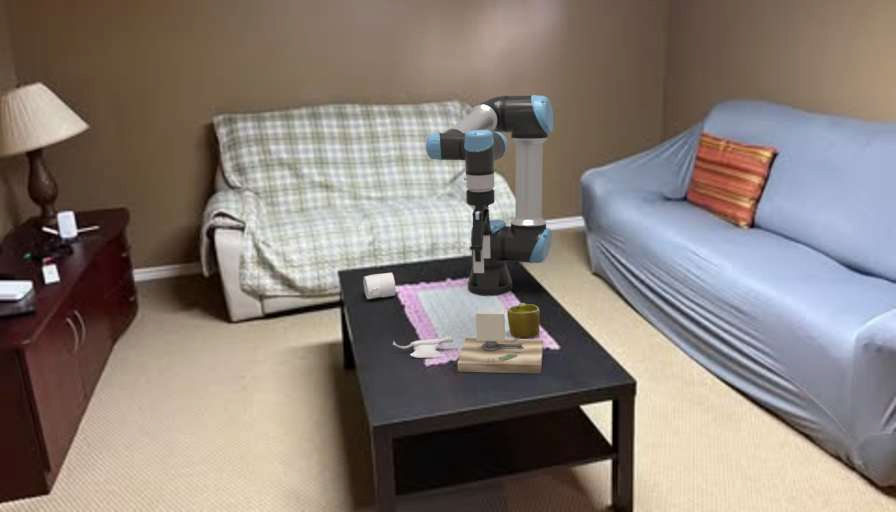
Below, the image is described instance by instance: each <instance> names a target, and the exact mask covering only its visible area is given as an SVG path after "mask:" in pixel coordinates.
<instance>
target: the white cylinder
mask: <svg viewBox="0 0 896 512" xmlns="http://www.w3.org/2000/svg"><path fill="white" fill-rule="evenodd" d="M363 289H364V294H365V296H366V299H367V300H372V299H377V298H388V297H395V296H396V282H395V277H394V274H393V272H386V273H377V274H376V273H375V274H370V275H365V276H363Z"/></svg>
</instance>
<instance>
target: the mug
mask: <svg viewBox="0 0 896 512" xmlns="http://www.w3.org/2000/svg"><path fill="white" fill-rule="evenodd" d="M540 312H541V311H540V307H539V306H537V305H535V304H529V303H527V304H526V303H525V302H521V303H519V304H518V305H512V306H510V307H509V308H507V312H506V315H507V323H508V328H509V332H510V335H511V336H512V337H513V338H514V339H516V338H518V339H528V338H529V339H530V338H534V337H538V336H539V334H540V329H541V328H540Z"/></svg>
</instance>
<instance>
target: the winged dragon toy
mask: <svg viewBox="0 0 896 512" xmlns="http://www.w3.org/2000/svg"><path fill="white" fill-rule="evenodd" d="M452 342H454V339H453V337H452V336H445V337H443V338H427V339H420V340H419V339H418V340H415V341H412V342H410V344H408V345H406V346H405V345H404V346H403V345H399V344H397V343H396V342H395V340H393V342H392V345H393V346H394V347H396V348H399V349H403V350H408V349H410V348H412V349H413V352H412V353H410V354H409V355H410V356H411V357H413V358H417V359H418V358H419V359H426V358H432V359H433V358H434V359H435V358H436V357H437V358H439V357H438V356H440V357H441V355H443V356H447V354H446V353H445V354H444V353H443V354H442V353H441V352H440V351H438V350H437V348H438V347H439V346H441V345H442V344H445V343H452ZM440 344H441V345H440ZM437 358H436V359H437Z"/></svg>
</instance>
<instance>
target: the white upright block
mask: <svg viewBox="0 0 896 512" xmlns="http://www.w3.org/2000/svg"><path fill="white" fill-rule="evenodd" d="M505 319H506V318H505V310H476V312H475V325H476V326H475V330H476V331H475V333H476V338H477V341H486V343H485V344H483V345H482V349H483V350H485V351H497V350H499V349H500V347H522V344H498V343H497V341H505V339H506V325H505V324H506V323H505V322H506V321H505Z"/></svg>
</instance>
